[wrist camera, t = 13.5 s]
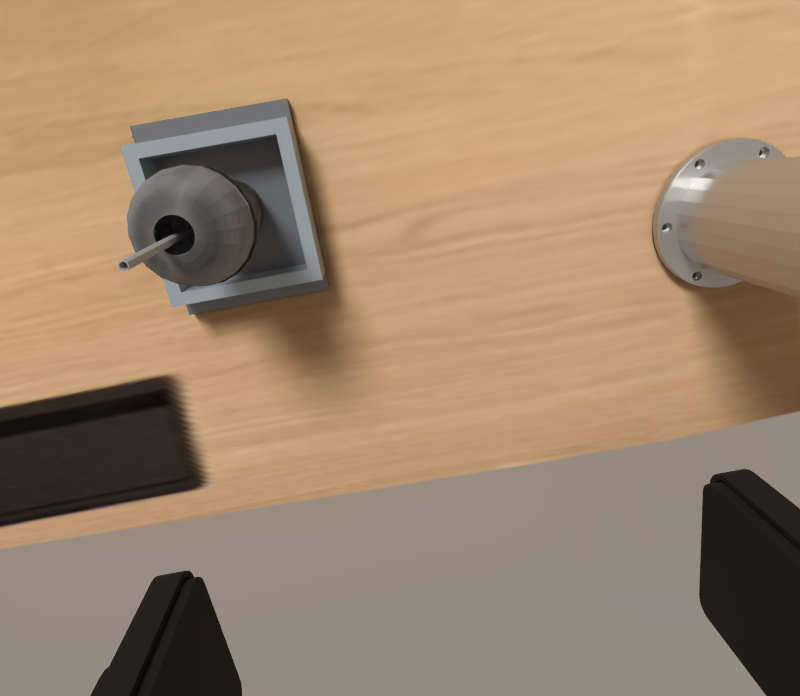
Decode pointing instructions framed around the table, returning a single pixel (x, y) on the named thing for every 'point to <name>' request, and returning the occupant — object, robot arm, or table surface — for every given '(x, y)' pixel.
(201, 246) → the beverage cup
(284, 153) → the blue-grey tray
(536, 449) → the table surface
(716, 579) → the robot arm
